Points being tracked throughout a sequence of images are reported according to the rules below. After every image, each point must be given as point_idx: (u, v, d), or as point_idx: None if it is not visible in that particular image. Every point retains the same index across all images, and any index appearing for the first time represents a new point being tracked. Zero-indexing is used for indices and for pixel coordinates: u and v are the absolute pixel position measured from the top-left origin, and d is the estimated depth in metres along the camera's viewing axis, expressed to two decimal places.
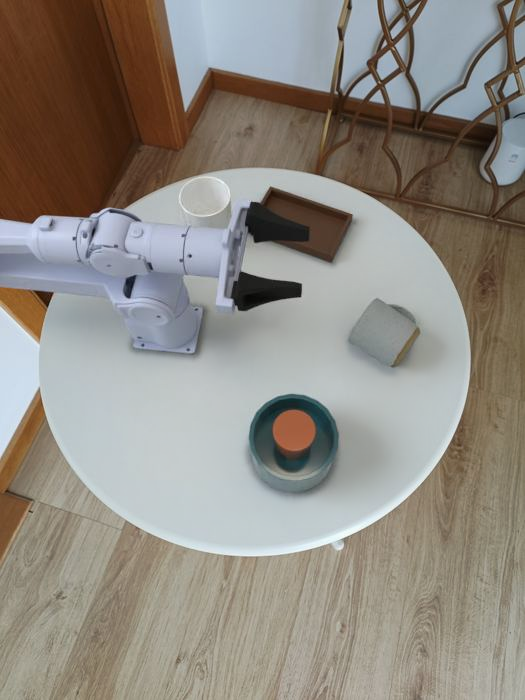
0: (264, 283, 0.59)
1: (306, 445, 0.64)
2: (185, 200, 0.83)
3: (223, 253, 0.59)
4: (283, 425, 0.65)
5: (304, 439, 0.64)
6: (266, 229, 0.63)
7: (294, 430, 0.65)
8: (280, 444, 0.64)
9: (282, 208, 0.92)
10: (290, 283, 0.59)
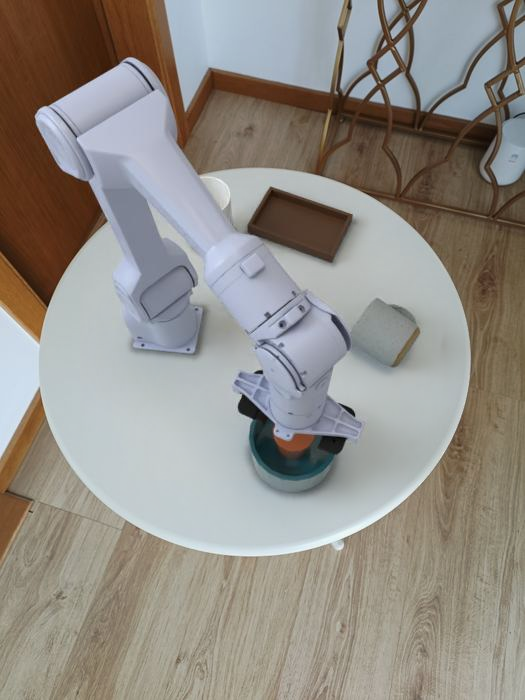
0: None
1: (306, 445, 0.64)
2: None
3: (273, 419, 0.56)
4: None
5: (304, 439, 0.64)
6: None
7: None
8: (280, 444, 0.64)
9: (282, 208, 0.92)
10: (261, 423, 0.64)
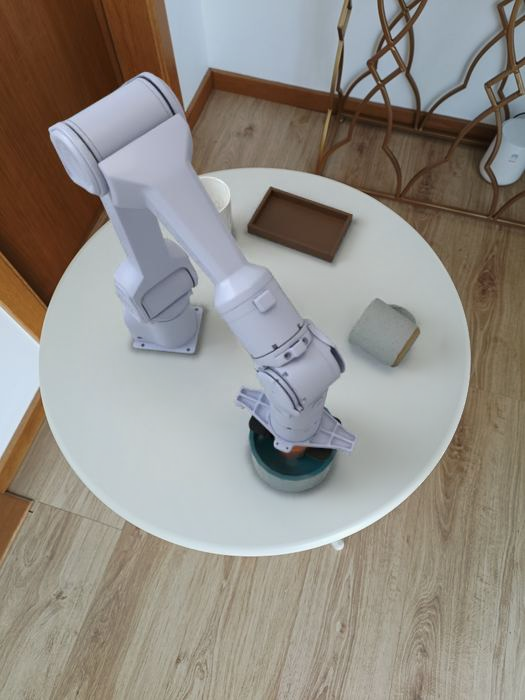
0: None
1: None
2: None
3: (273, 432, 0.60)
4: None
5: None
6: None
7: None
8: None
9: (282, 208, 0.92)
10: None
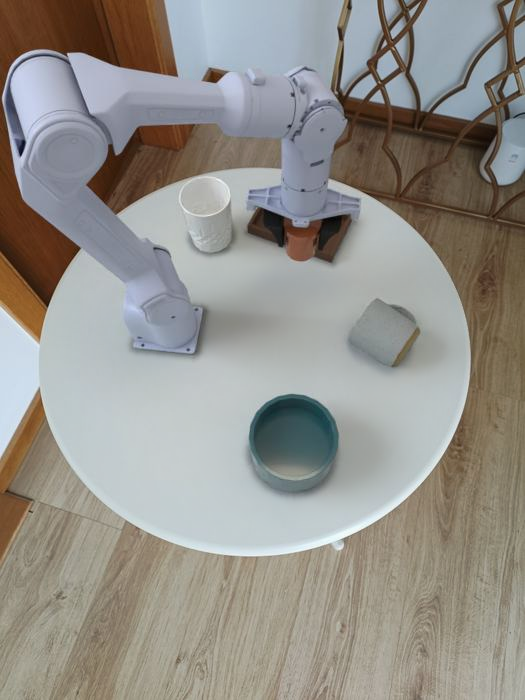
0: (276, 233, 0.72)
1: (317, 230, 0.71)
2: (185, 200, 0.83)
3: (289, 214, 0.67)
4: (291, 221, 0.72)
5: (313, 227, 0.72)
6: None
7: None
8: (294, 235, 0.71)
9: None
10: (280, 243, 0.75)
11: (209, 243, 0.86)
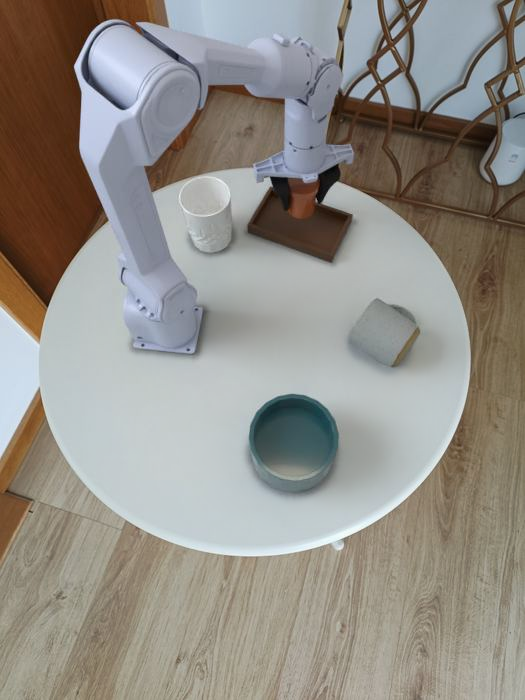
0: (284, 197, 0.80)
1: (318, 184, 0.80)
2: (185, 200, 0.83)
3: (298, 174, 0.75)
4: (293, 183, 0.81)
5: (314, 182, 0.80)
6: (320, 177, 0.80)
7: (303, 181, 0.81)
8: (302, 194, 0.80)
9: (282, 208, 0.92)
10: (287, 206, 0.83)
11: (209, 243, 0.86)
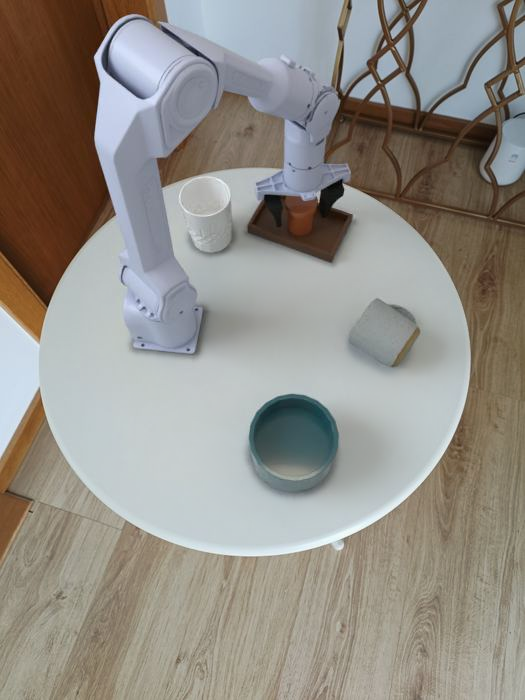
0: (277, 215, 0.83)
1: (316, 203, 0.84)
2: (185, 200, 0.83)
3: (297, 193, 0.79)
4: (293, 203, 0.84)
5: (312, 202, 0.84)
6: (324, 193, 0.84)
7: (302, 201, 0.85)
8: (300, 213, 0.84)
9: None
10: (280, 223, 0.86)
11: (209, 243, 0.86)
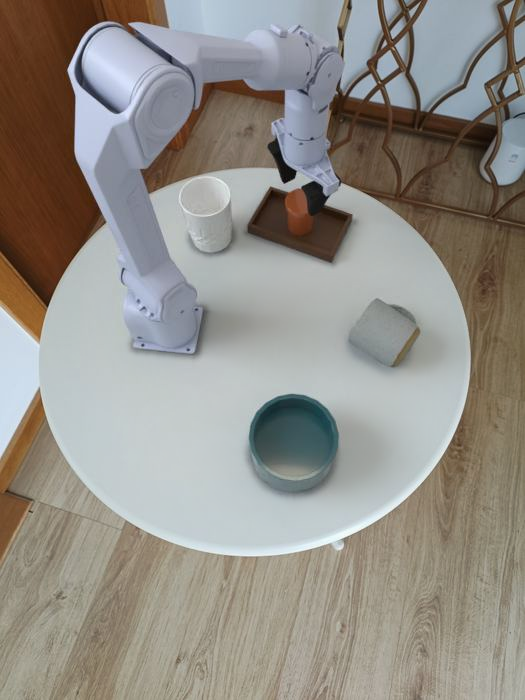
0: None
1: None
2: (185, 200, 0.83)
3: (325, 151, 0.75)
4: (293, 203, 0.84)
5: None
6: None
7: (302, 201, 0.85)
8: (300, 213, 0.84)
9: (282, 208, 0.92)
10: None
11: (209, 243, 0.86)
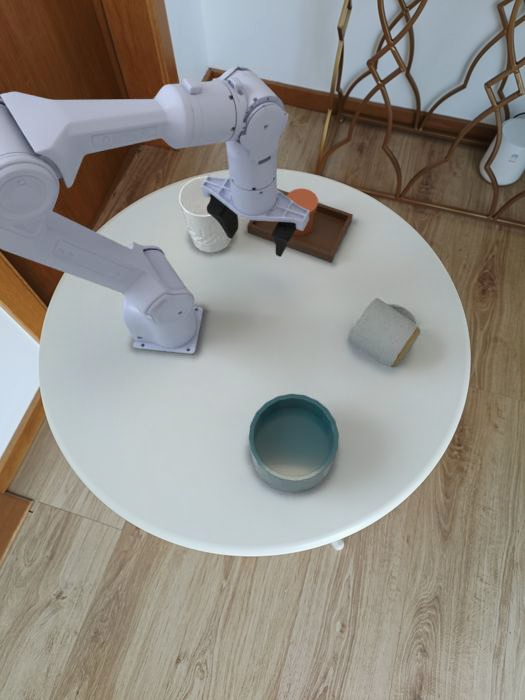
0: None
1: (316, 203, 0.84)
2: (185, 200, 0.83)
3: None
4: None
5: (312, 202, 0.84)
6: None
7: (302, 201, 0.85)
8: None
9: None
10: None
11: (209, 243, 0.86)
